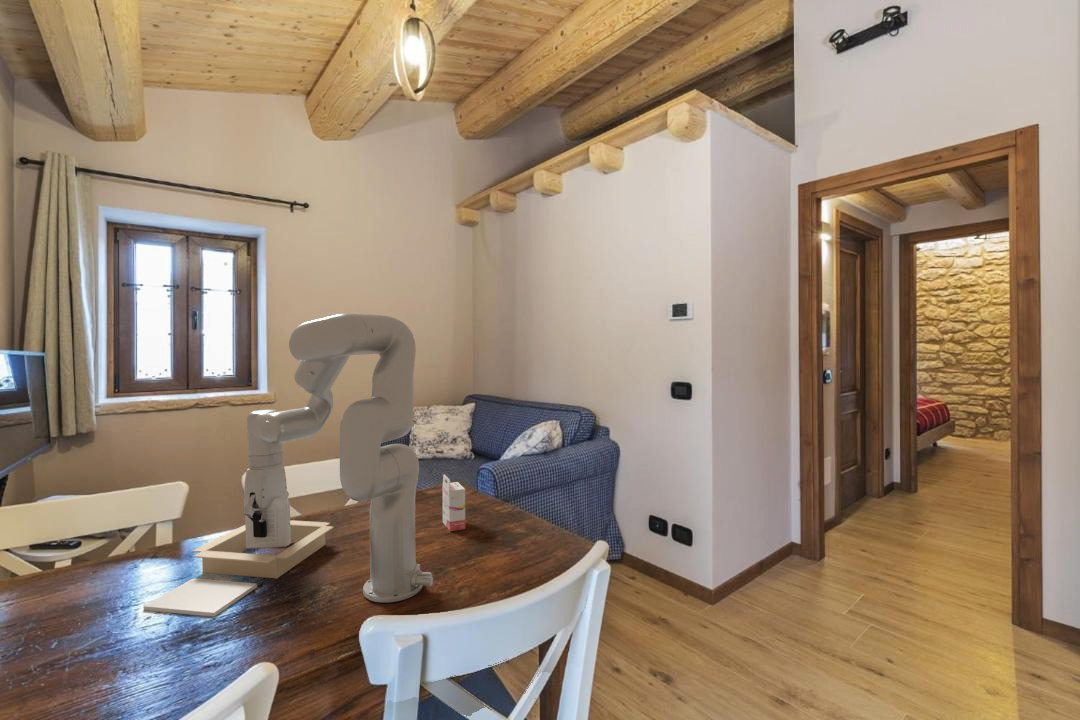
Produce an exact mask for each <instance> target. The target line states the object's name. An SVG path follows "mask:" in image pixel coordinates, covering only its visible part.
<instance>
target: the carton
mask: <svg viewBox="0 0 1080 720" xmlns="http://www.w3.org/2000/svg"><path fill="white" fill-rule="evenodd" d="M330 524H331V522H325V521H323V522H322V521H309V520H306V521H305V520H295V519H293V520H291V519H290V532H291V543H290V544H292V545H291V546H289V547H286V549H284V550H283V551H281V552H279V553H278V554H276V555H272V554H271V555H270V554H259V553H258V554H257V553H243V552H244V551H246V550H247V549H249V548H246V528H245V524H244V525H241V526H240V527H237V528H235V529H234V530H231V531H230V532H227V533H225V534H224V535H221V536H220V537H217V538H216V539H212V540H211V541H210V542H207V543H205V544H204V545H202V546H199V547H198V548H196V549H194V550H192V552H193V553H196V554H194V555H193V556H192V558H196V559H202V560H201V561H202V562H201V563H202V567H201V568H202V573H204V574H206V573H207V574H219V575H231V576H244V577H253V578H266V579H267V578H268V579H279V578H280V577H281V576H282V575H284V574H286V573H287V572H288V571H290V570H291V569H292V568H294V567H295V566H298V565H299V564H300V563H301V562H303V561H304V560H305V559H307V558H308V557H310V556H311V555H312V554H314V553H315V552H317V551H318V550H319V549H321V548H323V547H324V546H325V545H326V534H327V533H328V532H330V531H331V530H332V529H334V528H335V527H334V526H331V525H330ZM329 525H330V526H329Z"/></svg>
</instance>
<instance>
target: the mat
mask: <svg viewBox="0 0 1080 720" xmlns="http://www.w3.org/2000/svg"><path fill="white" fill-rule="evenodd" d="M257 588H258V583H254V582H252V583H251V582H241V581H240V582H239V581H228V580H216V579H207V578H206V579H205V578H191V579H189V580H188V581H185V582H184V583H182V584H181V585H179V586H177V587H175V588H173V589H171V590H170V591H167V592H166V593H164V594H163V595H161V596H159V597H157V598H155V599H154V600H152V601H150V602H149V603H147V604H144V605H143V611H148V610H149V611H150V612H160V613H168V614H169V613H171V614H180V615H181V614H182V615H193V616H202V617H212V618H214V617H216V616H217V615H219V614H220V613H222V612H224V610H226V609H228V608H229V607H230V606H232V605H234V604H235V603H236V602H238V601H239V600H241V599H242V598H243V597H245V596H246V595H248V594H249V593H251V592H252V591H254V590H255V589H257Z"/></svg>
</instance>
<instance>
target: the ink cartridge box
mask: <svg viewBox="0 0 1080 720" xmlns="http://www.w3.org/2000/svg"><path fill="white" fill-rule="evenodd" d="M442 475H443V477H442V489H441V490H442V523H443V525H444V526H445V527H446V529H448V531H449V532H454V531H461V530H465V529H466V488H465V487H464V486H463V485H461V484H460V482H459V481H455V482H451V479H450V478H449V477H448V476H447V474H445V473H443V474H442Z"/></svg>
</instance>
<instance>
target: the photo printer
mask: <svg viewBox="0 0 1080 720" xmlns="http://www.w3.org/2000/svg"><path fill="white" fill-rule="evenodd" d="M257 508H259V506H257ZM257 513H258V514H259V515H260V511H257ZM244 516H245V517H244V518H245V519H244V521H245V524H244V525H245V528H246V548H248V549H261V548H262V549H263V548H279V547H280V548H282V547H287V546H289V545H290V544H292V543H291V532H290V520H291V503H290V500H289V498H284V497H278V498H277V497H276V498H275V499H274V500H273V502H272V504H271V506H270V507H268V508H266V512H265V518H264V521H266V524H267V536H266V537H265V538H260V537H254V535H253V522H251V519H250V518H249V517H248V516H246V515H245V514H244Z"/></svg>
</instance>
